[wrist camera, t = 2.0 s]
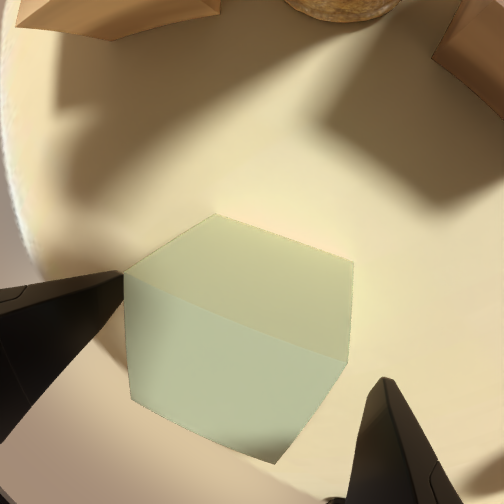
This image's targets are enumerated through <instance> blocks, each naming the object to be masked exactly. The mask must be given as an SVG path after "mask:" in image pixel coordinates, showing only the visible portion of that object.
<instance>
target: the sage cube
mask: <svg viewBox="0 0 504 504" xmlns="http://www.w3.org/2000/svg"><path fill="white" fill-rule="evenodd" d="M353 266H354V262H353V261H350V260H347V259H345V258H342V257H339V256H336V255H333V254H331V253H328V252H325V251H322V250H320V249H317V248H314V247H311V246H308V245H305V244H303V243H300V242H297V241H294V240H291V239H288V238H286V237H283V236H280V235H277V234H274V233H271V232H268V231H265V230H262V229H260V228H257V227H254V226H251V225H248V224H245V223H242V222H239V221H236V220H233V219H230V218H227V217H224V216H221V215H218V214H214V215H212V216H211V217H209V218H207V219H206V220H204V221H203V222H201V223H199V224H198V225H196V226H194V227H193V228H191V229H190V230H188V231H186V232H185V233H183V234H182V235H180V236H178V237H177V238H175V239H174V240H172V241H171V242H169V243H167V244H166V245H164V246H163V247H161V248H160V249H158V250H156V251H155V252H153V253H152V254H150V255H149V256H147V257H146V258H144V259H143V260H141V261H140V262H138V263H137V264H135V265H134V266H132V267H131V268H129V269H128V270H126V271H125V272H124V318H125V339H126V353H127V365H128V376H129V385H130V394H131V399H132V400H133V401H135V402H137V403H138V404H140V405H142V406H143V407H145V408H147V409H149V410H151V411H152V412H154V413H156V414H158V415H160V416H162V417H163V418H166V419H167V420H169V421H171V422H173V423H175V424H177V425H179V426H181V427H183V428H185V429H187V430H189V431H192V432H194V433H196V434H198V435H200V436H202V437H204V438H207V439H209V440H211V441H213V442H216V443H218V444H220V445H223V446H225V447H228V448H230V449H233V450H235V451H238V452H240V453H243V454H246V455H248V456H251V457H254V458H257V459H259V460H262V461H265V462H268V463H271V464H274V465H275V464H276V462H277V461H278V460H279V459H280V458H281V456H282V455H283V454H284V453H285V451H286V450H287V449H288V448H289V446H290V445H291V444H292V443H293V441H294V440H295V439H296V437H297V436H298V435H299V433H300V432H301V431H302V429H303V428H304V427H305V425H306V424H307V423H308V421H309V420H310V419H311V417H312V416H313V414H314V413H315V412H316V410H317V409H318V407H319V406H320V404H321V403H322V402H323V400H324V399H325V397H326V396H327V394H328V393H329V391H330V390H331V388H332V387H333V385H334V384H335V382H336V381H337V379H338V378H339V376H340V374H341V373H342V371H343V370H344V368H345V366H346V365H347V363H348V354H349V342H350V330H351V315H352V296H353Z"/></svg>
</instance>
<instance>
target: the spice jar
mask: <svg viewBox="0 0 504 504" xmlns="http://www.w3.org/2000/svg"><path fill="white" fill-rule="evenodd" d="M284 1H285V2H286V3H288V4H289V5H290V6H292V7H293V8H294V9H296V10H298V11H301V12H303V13H305V14H307V15H309V16H312V17H314V18H316V19H319V20H323V21H331V22H344V23H348V22H353V21H365V20H370V19H372V18H377V17H380V16H382V15H384V14H386V13H387V12H389V11H390V10H392V9H393V8H394V7H395V6H397V5H398V3H399V2H400V1H401V0H284Z"/></svg>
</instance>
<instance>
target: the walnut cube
mask: <svg viewBox="0 0 504 504" xmlns="http://www.w3.org/2000/svg"><path fill="white" fill-rule="evenodd" d="M431 59H433V60H434V61H435V62H437V63H438V64H439V65H441V66H442V67H443V68H445V69H446V70H447V71H449V72H450V73H451V74H452V75H454V76H455V77H456V78H457V79H459V80H460V81H461V82H462V83H464V84H465V85H466V86H467V87H468V88H469V89H471V90H472V91H473V92H474V93H475V94H476V95H477V96H479V97H480V98H481V99H482V100H483V101H484V102H485V103H486V104H487V105H488V106H489V107H490V108H491V109H492V110H493V111H494V112H495V113H496V114H498V115H499V117H500V118H501V119H502V120H503V121H504V0H462V2H461V4H460V6H459V8H458V10H457V12H456V14H455V16H454V17H453V19H452V21H451V23H450V25H449V27H448V29H447V31H446V33H445V34H444V36H443V38H442V40H441V42H440V44H439V45H438V47H437V49H436V51H435V53H434V54H433V56H432V58H431Z"/></svg>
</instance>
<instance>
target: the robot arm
mask: <svg viewBox="0 0 504 504" xmlns="http://www.w3.org/2000/svg"><path fill="white" fill-rule="evenodd" d="M123 300H124V274H122V273H120V272H118V271H116V270H113V271H107V272H101V273H95V274H89V275H83V276H78V277H72V278H66V279H60V280H54V281H48V282H42V283H36V284H30V285H28V286H27V285H25V286H19V287H12V288H5V289H0V444H1V443H2V442H3V441H4V440H5V439H6V438H7V436H8V435H9V434H10V433H11V431H12V430H13V429H14V428H15V426H16V425H17V424H18V423H19V422H20V420H21V419H22V418H23V417H24V415H25V414H26V413H27V412H28V410H29V409H30V408H31V406H33V405H34V403H35V402H36V401H37V400H38V399H39V397H40V396H41V395H42V394H43V393H44V392H45V390H46V389H47V388H48V387H49V386H50V385H51V384H52V382H53V381H54V380H55V379H56V378H57V377H58V376H59V374H60V373H61V372H62V371H63V370H64V369H65V368H66V367H67V366H68V365H69V363H70V362H71V361H72V360H73V359H74V358H75V357H76V355H78V354H79V352H80V351H81V350H82V349H83V348H84V347H85V346H86V345H87V344H88V343H89V342H90V341H91V340H92V338H93V337H94V336H95V335H96V334H97V333H98V332H99V331H100V330H101V329H102V327H103V326H104V325H105V324H106V322H107V321H108V320H109V318H110V317H111V316H112V314H113V313H114V312H115V310H116V309H117V308H118V307H119V305H120V304H121V303H122V301H123ZM437 460H438V458H437V456H436V454H435V452H434V450H433V449H432V447H431V445H430V443H429V441H428V439H427V437H426V436H425V434H424V432H423V430H422V428H421V426H420V425H419V423H418V421H417V419H416V417H415V416H414V414H413V412H412V410H411V409H410V407H409V405H408V403H407V402H406V400H405V398H404V396H403V395H402V393H401V391H400V390H399V388H398V386H397V384H396V383H395V381H394V380H393V379H390V378H387V377H381V378H380V379H379V380H378V382H377V383H376V384H375V386H374V387H373V388H372V390H371V391H370V392H369V394H368V396H367V400H366V404H365V408H364V413H363V417H362V421H361V425H360V429H359V432H358V437H357V442H356V448H355V454H354V460H353V466H352V472H351V477H350V482H349V487H348V492H347V497H346V500H342V499H334V500H332V501H330V502H328V503H327V504H463V502H462V500H461V499H460V497H459V496H458V494H457V492H456V491H455V489H454V487H453V486H452V484H451V482H450V481H449V479H448V477H447V475H446V473H445V471H444V469H443V468H442V466H441V464H440V462H439V461H437ZM0 504H16V503H15V502H14V500H13V499H12V498H10V496H9V495H8V494H7V493H6V492H5V491H4V490H3V489H2V488H1V487H0Z"/></svg>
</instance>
